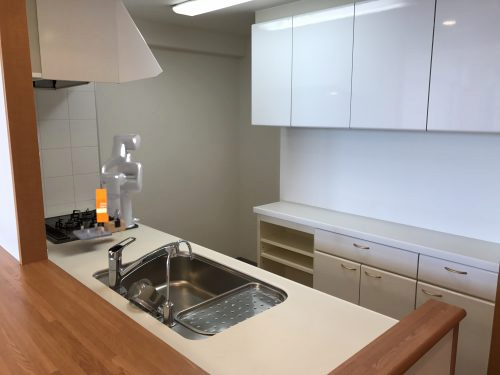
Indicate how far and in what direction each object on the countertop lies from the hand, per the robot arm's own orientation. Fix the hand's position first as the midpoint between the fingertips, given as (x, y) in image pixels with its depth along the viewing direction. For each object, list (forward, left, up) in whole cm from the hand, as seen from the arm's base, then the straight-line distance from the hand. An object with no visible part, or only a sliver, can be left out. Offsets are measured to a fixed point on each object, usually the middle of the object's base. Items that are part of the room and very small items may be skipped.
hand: (114, 225), depth 237 cm
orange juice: (-3, -24, -3) cm, 25 cm away
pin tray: (+14, +4, -2) cm, 15 cm away
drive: (0, 0, -3) cm, 3 cm away
